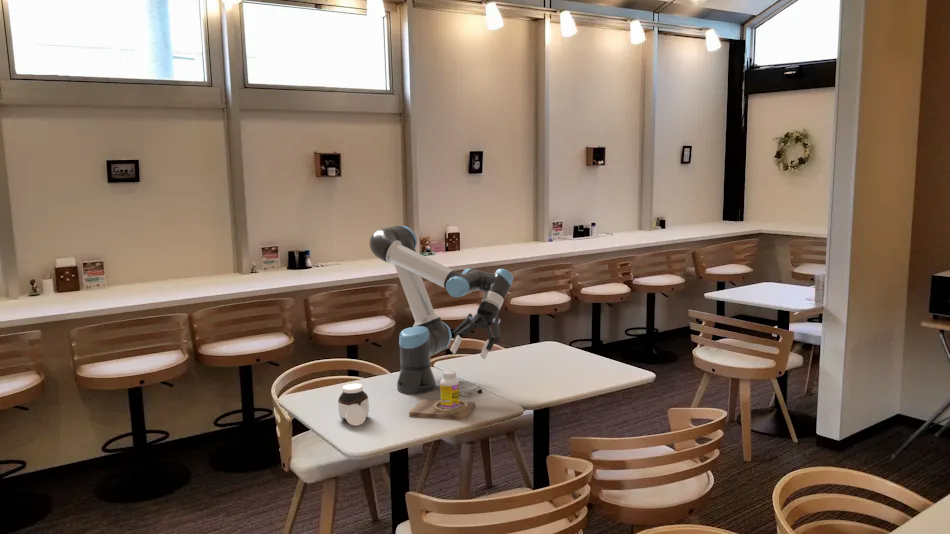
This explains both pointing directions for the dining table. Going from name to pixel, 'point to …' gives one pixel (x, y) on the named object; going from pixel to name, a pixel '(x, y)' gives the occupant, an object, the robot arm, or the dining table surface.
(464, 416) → the seat board
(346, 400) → the spread jar
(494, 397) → the dining table surface
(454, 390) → the supplement bottle
